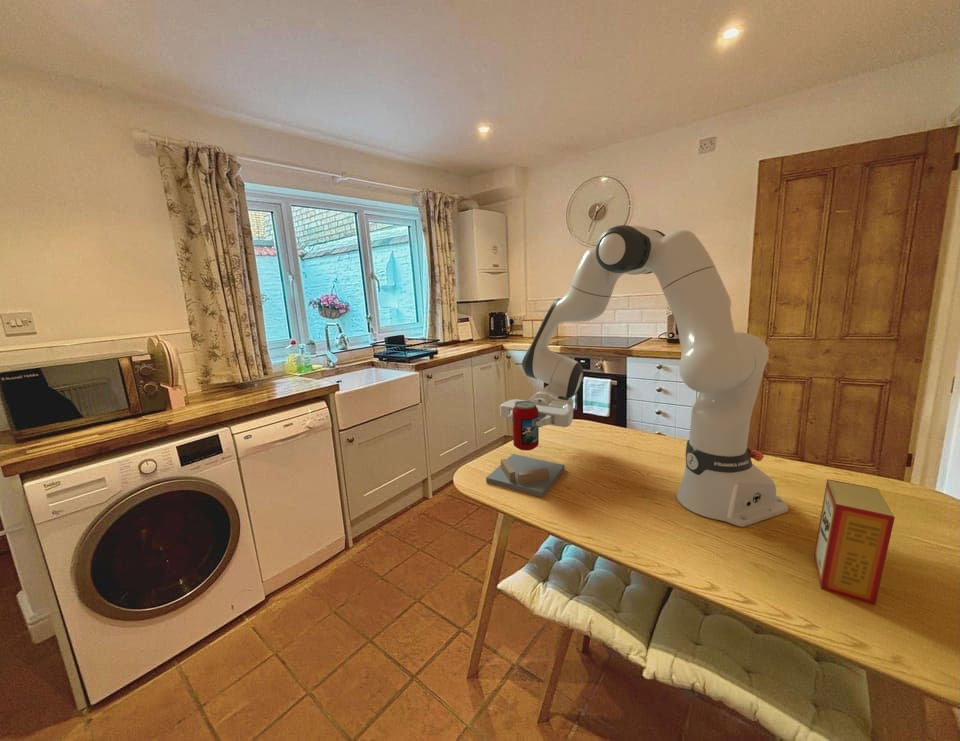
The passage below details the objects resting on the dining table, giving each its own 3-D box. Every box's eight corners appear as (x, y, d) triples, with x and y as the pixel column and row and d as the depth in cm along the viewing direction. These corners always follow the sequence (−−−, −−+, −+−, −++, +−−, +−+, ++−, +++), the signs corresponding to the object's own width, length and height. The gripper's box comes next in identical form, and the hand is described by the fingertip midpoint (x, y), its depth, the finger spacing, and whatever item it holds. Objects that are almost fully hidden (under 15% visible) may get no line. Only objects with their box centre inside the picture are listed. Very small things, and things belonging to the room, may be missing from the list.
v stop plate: (513, 458, 117) (512, 446, 116) (564, 469, 109) (564, 456, 108) (486, 482, 104) (485, 468, 103) (542, 497, 96) (542, 482, 95)
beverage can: (530, 454, 100) (530, 410, 97) (508, 448, 104) (507, 405, 101) (543, 444, 106) (542, 402, 103) (521, 439, 110) (520, 398, 107)
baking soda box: (813, 555, 73) (827, 477, 69) (861, 568, 70) (878, 486, 66) (821, 588, 66) (836, 503, 62) (875, 605, 62) (895, 515, 58)
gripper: (511, 391, 118) (489, 405, 107) (578, 400, 108) (561, 416, 97) (512, 411, 120) (489, 426, 108) (578, 421, 109) (560, 439, 98)
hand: (524, 421), depth 102 cm, fingers closed on beverage can, 7 cm apart
